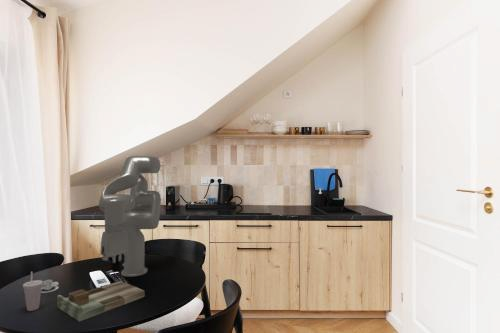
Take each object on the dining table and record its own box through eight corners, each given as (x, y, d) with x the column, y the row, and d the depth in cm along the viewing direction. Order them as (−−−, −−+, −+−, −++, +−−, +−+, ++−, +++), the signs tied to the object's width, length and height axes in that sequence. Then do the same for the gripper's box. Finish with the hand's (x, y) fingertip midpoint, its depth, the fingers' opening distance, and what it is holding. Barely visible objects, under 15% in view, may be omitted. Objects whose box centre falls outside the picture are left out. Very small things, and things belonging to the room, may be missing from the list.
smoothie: (29, 305, 120) (29, 269, 120) (46, 304, 120) (47, 268, 120) (18, 312, 113) (18, 274, 113) (36, 312, 114) (37, 274, 114)
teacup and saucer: (55, 284, 141) (55, 275, 141) (63, 288, 137) (63, 279, 137) (33, 290, 134) (33, 281, 134) (41, 295, 130) (41, 285, 130)
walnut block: (68, 304, 115) (68, 293, 115) (82, 299, 119) (82, 289, 119) (74, 307, 112) (74, 296, 112) (88, 303, 116) (88, 292, 116)
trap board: (57, 307, 118) (57, 295, 118) (120, 286, 139) (120, 276, 139) (79, 321, 107) (79, 308, 107) (144, 296, 128) (144, 285, 128)
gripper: (126, 222, 135) (127, 263, 137) (92, 229, 123) (93, 274, 125) (136, 225, 131) (136, 267, 132) (101, 233, 119) (102, 279, 120)
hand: (115, 270), depth 128 cm, fingers closed
